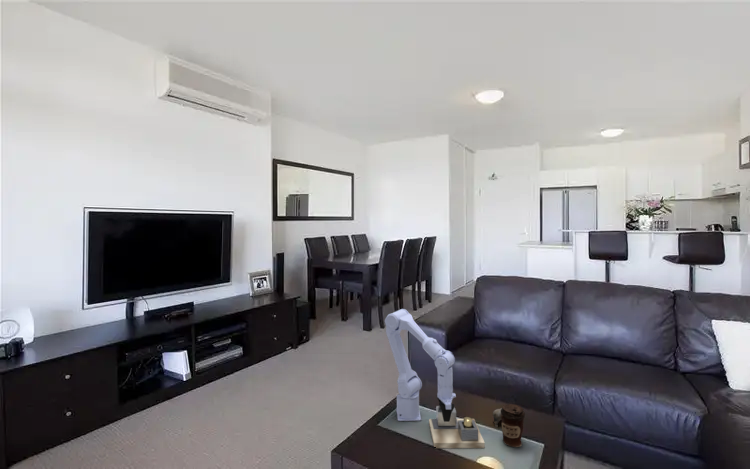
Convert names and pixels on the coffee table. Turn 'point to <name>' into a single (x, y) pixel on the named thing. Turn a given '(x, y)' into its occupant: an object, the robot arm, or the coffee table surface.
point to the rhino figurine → (497, 416)
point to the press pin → (467, 422)
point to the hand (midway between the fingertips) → (445, 417)
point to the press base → (456, 435)
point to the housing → (440, 418)
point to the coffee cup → (512, 424)
